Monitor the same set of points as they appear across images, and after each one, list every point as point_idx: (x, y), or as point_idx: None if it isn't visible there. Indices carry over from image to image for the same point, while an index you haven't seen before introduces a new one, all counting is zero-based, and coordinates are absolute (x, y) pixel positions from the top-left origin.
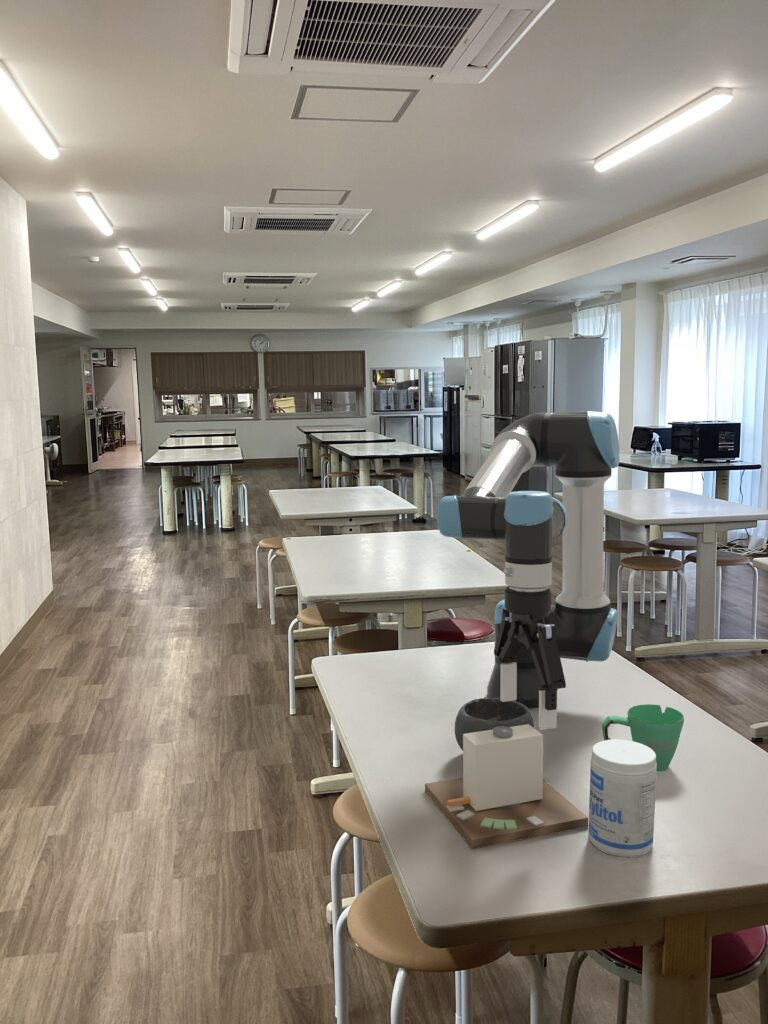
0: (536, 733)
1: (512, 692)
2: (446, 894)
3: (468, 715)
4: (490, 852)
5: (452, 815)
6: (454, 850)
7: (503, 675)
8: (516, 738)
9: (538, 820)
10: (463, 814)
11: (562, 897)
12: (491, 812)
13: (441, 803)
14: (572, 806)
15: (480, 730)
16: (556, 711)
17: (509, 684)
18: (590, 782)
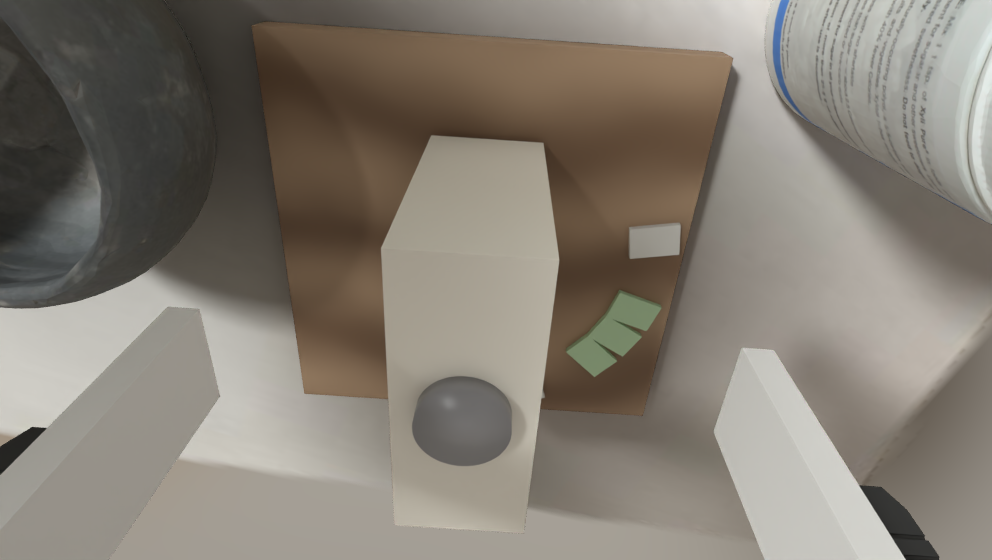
0: (522, 277)
1: (174, 373)
2: None
3: (12, 300)
4: (673, 371)
5: None
6: (620, 428)
7: (105, 553)
8: (534, 386)
9: (662, 234)
10: None
11: (934, 327)
12: None
13: None
14: (634, 62)
15: (135, 270)
16: (825, 432)
17: (144, 443)
18: (930, 190)
